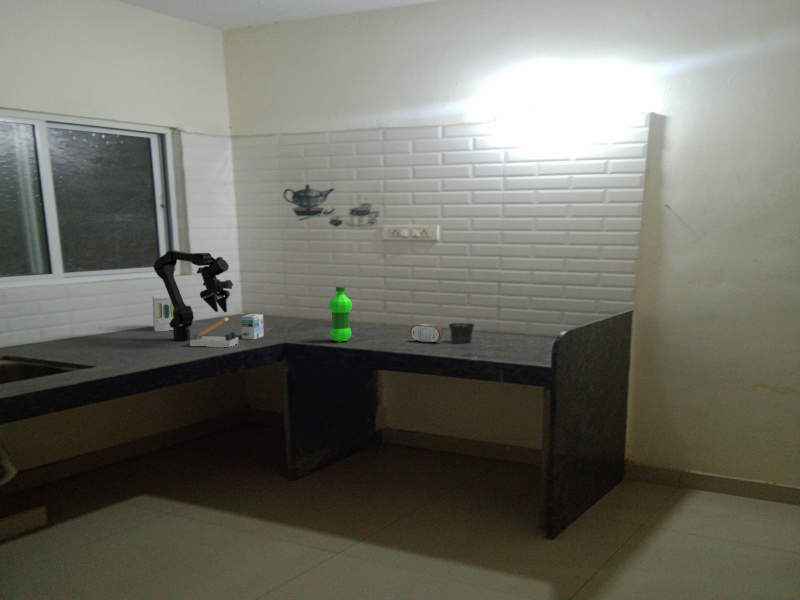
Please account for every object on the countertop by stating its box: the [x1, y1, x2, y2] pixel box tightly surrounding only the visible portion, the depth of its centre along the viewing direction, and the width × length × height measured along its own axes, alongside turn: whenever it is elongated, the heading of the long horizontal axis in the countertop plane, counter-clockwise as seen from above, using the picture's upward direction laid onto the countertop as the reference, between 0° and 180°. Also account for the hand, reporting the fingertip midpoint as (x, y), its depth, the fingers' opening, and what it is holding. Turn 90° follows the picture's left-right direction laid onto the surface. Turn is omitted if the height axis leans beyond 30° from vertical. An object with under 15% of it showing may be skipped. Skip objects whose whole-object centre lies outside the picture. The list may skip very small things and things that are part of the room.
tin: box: [409, 323, 443, 343], centre depth 289 cm, size 15×3×8 cm, turn 65°
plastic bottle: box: [328, 286, 353, 343], centre depth 290 cm, size 10×10×25 cm
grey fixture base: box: [189, 331, 239, 348], centre depth 280 cm, size 18×10×6 cm, turn 82°
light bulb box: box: [241, 313, 264, 340], centre depth 301 cm, size 11×7×11 cm, turn 168°
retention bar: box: [196, 317, 229, 338], centre depth 280 cm, size 16×3×1 cm, turn 84°
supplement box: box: [152, 294, 174, 332], centre depth 327 cm, size 13×13×18 cm
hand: (221, 312), depth 281 cm, fingers open, 9 cm apart
